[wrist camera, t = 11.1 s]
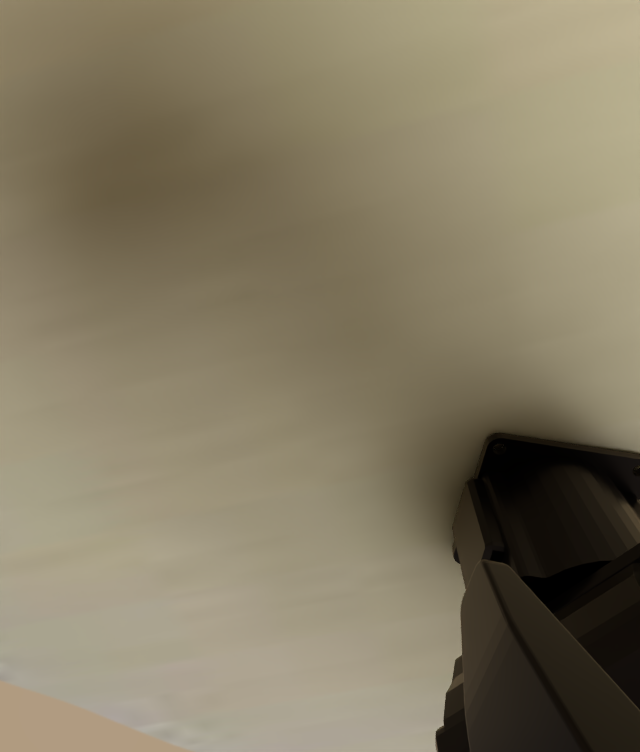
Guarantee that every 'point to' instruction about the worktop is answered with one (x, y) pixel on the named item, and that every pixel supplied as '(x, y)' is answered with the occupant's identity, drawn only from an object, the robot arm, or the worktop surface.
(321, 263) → the worktop surface
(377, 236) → the worktop surface
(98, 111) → the worktop surface
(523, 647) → the robot arm
